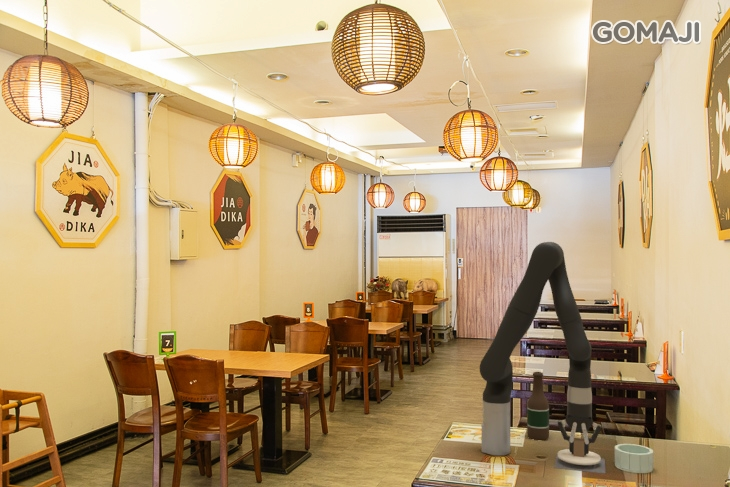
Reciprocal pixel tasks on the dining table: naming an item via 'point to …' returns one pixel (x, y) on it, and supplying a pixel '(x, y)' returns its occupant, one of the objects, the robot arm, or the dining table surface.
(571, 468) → the mat
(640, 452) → the bowl
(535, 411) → the beer bottle
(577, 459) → the lid
